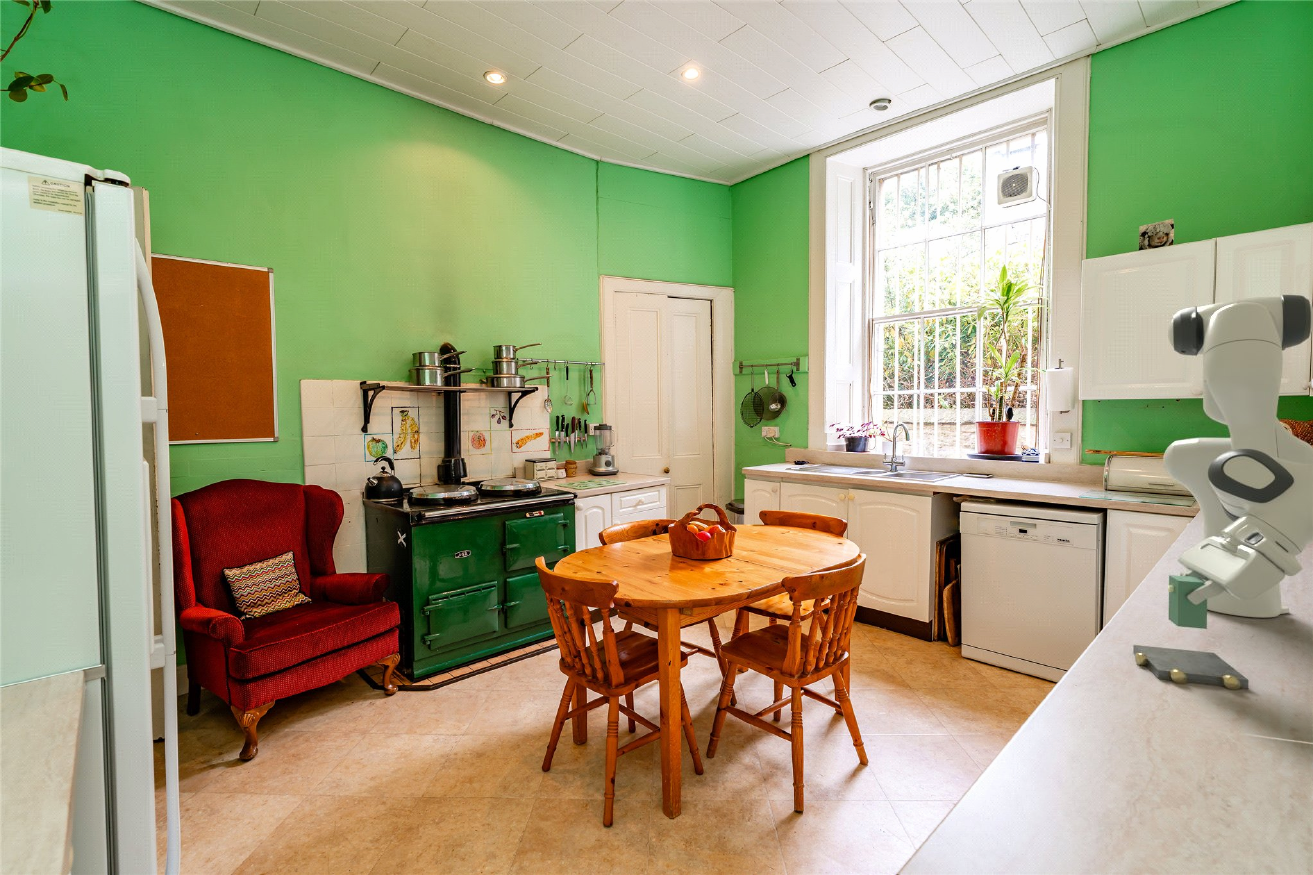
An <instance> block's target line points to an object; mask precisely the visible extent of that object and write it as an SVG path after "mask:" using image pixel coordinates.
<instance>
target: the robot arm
mask: <svg viewBox="0 0 1313 875" xmlns="http://www.w3.org/2000/svg"><path fill="white" fill-rule="evenodd" d="M1311 333H1313V305H1312V304H1311V302H1310V299H1308V298H1306V297H1305V296H1304V295H1298V294H1281V295H1280V296H1257V297H1246V298H1245V297H1244V298H1237V299H1236V300H1228V301H1223V302H1216V303H1212V304H1211V303H1210V304H1205V305H1202V306H1196V305H1194V306H1189V307H1186V308H1184V309H1179V311H1177V312H1176V313H1174V315H1173V316H1172V319H1171V321H1170V323H1169V325H1168V329H1167V336H1168V340H1169V343H1170V345H1171V346H1172V348H1173V350H1174V351H1175V352H1177V353H1178V354H1180V355H1183V356H1194V357H1195V356H1198V355H1202V367H1203V368H1202V399H1203V400H1202V406H1203V411H1204V413H1205V414H1206V416H1207V417H1209V418H1210V419H1211V420H1213V421H1215V422H1218V423H1219V424H1222V425H1225V426H1227V428H1228V431H1229V435H1230V436H1229V437H1194V438H1193V437H1192V438H1185V439H1179V440H1174V441H1173V442H1172V443H1171V444H1170V445H1168V446H1167V448H1166V450H1165V451H1164V454H1163V458H1162V461H1163V462H1162V464H1163V468H1164V470H1165V472H1166V473H1167V474H1168V475H1169V476H1170V478H1172V479H1173V480H1175V481H1176V482H1178V484H1180V485H1182V486H1183V487H1184V488H1185V489H1187V490H1188V491H1189V493H1191V495H1192V496H1193V498H1194V499H1195V500H1196V502H1197V504H1198V506H1199V509H1200V513H1201V520H1202V540H1201V541H1200V542H1198V543H1196V544H1194V545H1193V546H1192V547H1191V548H1188V549H1187V550H1186V551H1184V552H1182V553H1181V554H1180V555H1179V556H1178V558H1177V562H1178V563H1179V564H1180V565H1181V566H1182V567H1183V568H1185V569H1186V570H1185V571H1181V572H1179V573H1180V574H1179V576H1190V577H1198V578H1200V579H1202V580H1203V581H1205V583H1204V584H1205V585H1203V586H1202V587H1200V588H1198V589H1196V590H1193V589H1192V590H1190V591H1189V592H1188V593H1186V594H1185V597H1186V598H1187V599H1188V600H1189V601H1190V602H1192V603H1193V604H1196V605H1197V604H1199V603H1201V602H1202V601H1204V600H1205V599H1207V611H1208V610H1209V611H1212V612H1216V613H1220V614H1221V613H1222V614H1228V615H1231V616H1232V615H1233V616H1240V617H1248V618H1275V617H1279V616H1280V615H1283V614H1289V613H1290V607H1288V606H1285V605H1283V604H1282V592H1281V590H1282V589H1281V582H1282V581H1283V580H1284V579H1285V577H1286V576H1288V577H1293V576H1296V575H1297V574H1298V573H1301V571H1302V570H1303V566H1302V565H1301V563H1300V562H1299V561H1298V558H1297V556H1298V555H1300V554H1301V553H1302V552H1303V551H1304V550H1305V549H1306V547H1308V546H1309V544H1310V543H1312V542H1313V445H1311V444H1310V443H1308V442H1307V441H1304V440H1303V439H1300V438H1298V437H1297V436H1295V435H1294V434H1292V433H1291V432H1290V431H1289V430H1288V429H1287V428H1286V427H1285V426H1284V425H1283V424H1282V423H1281V421H1280V420H1279V418H1278V417H1277V413H1278V404H1279V397H1280V390H1281V383H1282V376H1283V362H1284V361H1283V351H1285V350H1286V349H1289V348H1292V347H1295V346H1298V345H1301V344H1302V343H1304V342H1305V341H1306V340H1308V339H1309V338H1310V336H1311Z"/></svg>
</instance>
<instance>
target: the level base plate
mask: <svg viewBox="0 0 1313 875" xmlns="http://www.w3.org/2000/svg"><path fill="white" fill-rule="evenodd" d="M1132 648H1133V649H1132V650H1133V652H1132V653H1133V654H1134V659H1135V663H1136V665H1137V666H1138V665H1139V666H1140V665H1141V666H1146V667H1147V669H1149V671H1150V672H1151V673H1152V674H1153V675H1154V676H1155V677H1156V678H1157V679H1159V680H1160V679H1161V680H1166V681H1167V680H1168V681H1173V682H1175V683H1176V684H1179V685H1181V684H1184V683H1193V684H1202V685H1213V686H1218V687H1220V686H1221V687H1226V688H1227V689H1228V690H1231V691H1232V690H1233V691H1237V690H1239V689H1244V690H1245V689H1247V690H1248V689H1249V679H1248V678H1247V677H1245V675H1243V674H1241V672H1239V671H1238V670H1237V669H1235V668H1234V667H1233V666H1231V665H1230V664H1229V663H1228V662H1226V661H1225V660H1223V659H1222V658H1221V657H1220V656H1219V655H1218V654H1216V652H1215V653H1214V652H1208V651H1200V650H1189V649H1180V648H1179V649H1178V648H1171V647H1170V648H1169V647H1158V646H1149V645H1148V646H1147V645H1140V644H1139V645H1138V644H1133V647H1132Z"/></svg>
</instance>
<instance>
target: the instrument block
mask: <svg viewBox="0 0 1313 875" xmlns="http://www.w3.org/2000/svg"><path fill="white" fill-rule="evenodd" d="M1204 583H1205V581H1203V580H1202V579H1200V578H1198V577H1190V576H1180V575H1175V574H1174V575H1173V574H1172V575H1171V574H1169V575H1168V586H1167V591H1168V620H1169V621H1170V622H1171V623H1172V624H1174V625H1175V626H1176V627H1180V628H1182V627H1183V628H1190V629H1193V628H1194V629H1201V630H1202V629H1205V630H1207V629H1208V609H1207V599H1205V600H1204V601H1202V602H1201V603H1199V604H1197V605H1196V604H1193V603H1192V602H1190V601H1189V600H1188V599H1187V598H1186V597H1185V594H1186V593H1188V592H1189V591H1190V590H1192V589H1193V590H1196V589H1198V588H1200V587H1202V586H1203V585H1205V584H1204Z"/></svg>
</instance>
